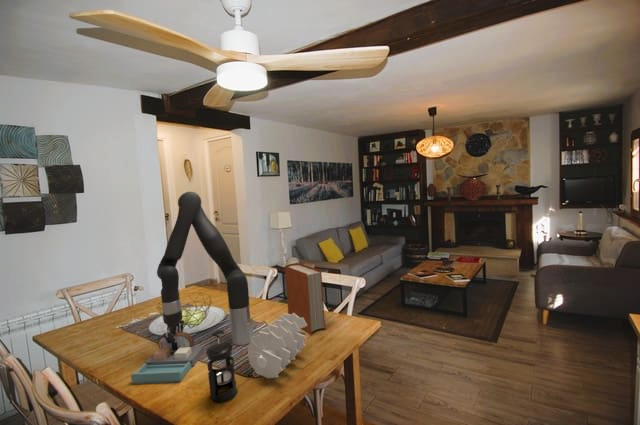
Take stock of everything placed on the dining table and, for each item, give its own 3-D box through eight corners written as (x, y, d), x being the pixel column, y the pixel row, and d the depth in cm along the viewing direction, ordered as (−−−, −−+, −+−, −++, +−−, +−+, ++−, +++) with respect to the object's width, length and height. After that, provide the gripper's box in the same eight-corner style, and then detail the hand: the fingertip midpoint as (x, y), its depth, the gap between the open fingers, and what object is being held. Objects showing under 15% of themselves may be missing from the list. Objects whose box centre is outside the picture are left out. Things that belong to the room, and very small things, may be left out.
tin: (194, 349, 147) (193, 330, 146) (191, 353, 143) (189, 334, 143) (161, 350, 147) (159, 332, 147) (157, 354, 144) (155, 335, 144)
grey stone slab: (204, 352, 150) (203, 345, 149) (192, 367, 138) (192, 360, 137) (160, 354, 151) (159, 347, 150) (145, 369, 139) (144, 362, 138)
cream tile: (191, 352, 144) (191, 347, 144) (186, 358, 139) (185, 353, 139) (180, 352, 144) (179, 347, 144) (174, 359, 139) (174, 353, 139)
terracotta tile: (171, 353, 144) (170, 347, 144) (165, 359, 139) (164, 353, 139) (160, 353, 145) (159, 348, 144) (153, 360, 140) (153, 354, 139)
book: (325, 330, 163) (321, 270, 160) (311, 335, 159) (306, 274, 156) (301, 316, 182) (297, 262, 179) (288, 320, 178) (283, 265, 175)
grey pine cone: (254, 389, 126) (286, 353, 149) (290, 378, 119) (317, 342, 142) (232, 346, 127) (267, 317, 150) (265, 333, 120) (297, 304, 142)
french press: (220, 383, 125) (214, 324, 123) (243, 386, 122) (237, 326, 120) (201, 404, 114) (194, 340, 111) (226, 407, 111) (219, 341, 109)
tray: (191, 367, 138) (190, 358, 137) (180, 382, 128) (179, 372, 127) (146, 369, 138) (145, 360, 138) (132, 384, 128) (131, 374, 128)
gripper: (171, 304, 151) (176, 340, 153) (154, 317, 137) (159, 357, 139) (187, 303, 150) (192, 340, 152) (172, 316, 136) (177, 356, 138)
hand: (176, 348), depth 145 cm, fingers closed on tin, 2 cm apart
